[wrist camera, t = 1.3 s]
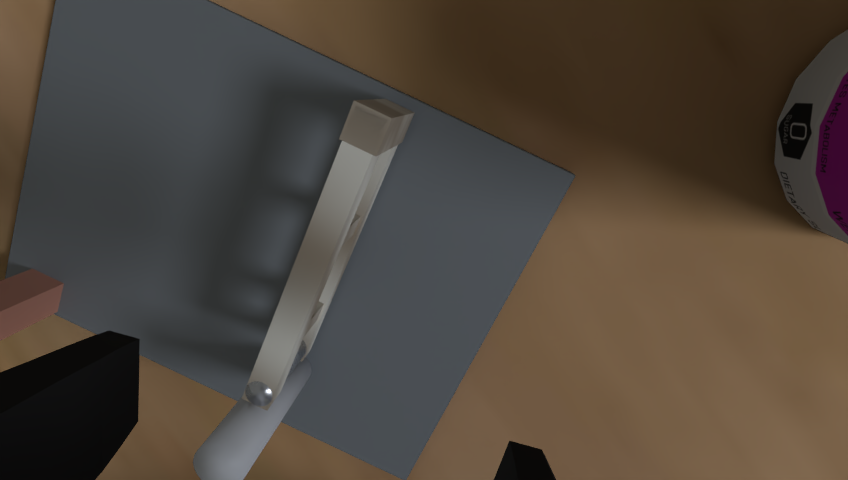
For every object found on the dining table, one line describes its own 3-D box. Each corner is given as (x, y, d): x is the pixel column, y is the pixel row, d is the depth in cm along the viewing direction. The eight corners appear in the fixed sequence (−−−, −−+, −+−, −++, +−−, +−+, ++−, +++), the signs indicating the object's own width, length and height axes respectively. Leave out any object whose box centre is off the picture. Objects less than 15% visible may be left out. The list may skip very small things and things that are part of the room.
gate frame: (573, 173, 19) (614, 215, 13) (407, 471, 24) (375, 614, 18) (80, -61, 19) (-137, -142, 13) (14, 285, 24) (-167, 357, 18)
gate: (312, 351, 22) (269, 411, 18) (287, 339, 22) (239, 397, 18) (414, 112, 19) (391, 118, 14) (385, 98, 19) (353, 100, 14)
